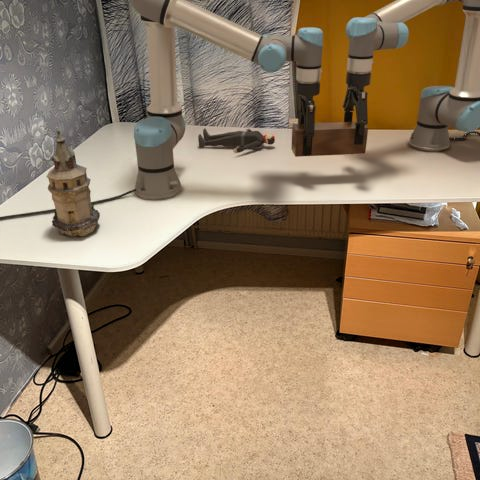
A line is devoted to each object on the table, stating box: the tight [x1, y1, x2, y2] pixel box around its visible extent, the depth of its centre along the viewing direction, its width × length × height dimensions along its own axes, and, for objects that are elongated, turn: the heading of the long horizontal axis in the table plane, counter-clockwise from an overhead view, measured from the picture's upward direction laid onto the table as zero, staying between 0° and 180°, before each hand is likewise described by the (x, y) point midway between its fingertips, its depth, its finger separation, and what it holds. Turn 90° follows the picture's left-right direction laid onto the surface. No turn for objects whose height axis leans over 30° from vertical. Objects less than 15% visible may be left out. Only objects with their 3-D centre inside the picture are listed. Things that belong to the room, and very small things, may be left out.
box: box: [290, 121, 369, 158], centre depth 177 cm, size 24×7×9 cm, turn 95°
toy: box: [197, 128, 276, 154], centre depth 214 cm, size 26×6×30 cm
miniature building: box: [46, 129, 101, 237], centre depth 148 cm, size 13×14×30 cm
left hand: (304, 151), depth 178 cm, fingers closed on box, 7 cm apart
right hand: (352, 137), depth 177 cm, fingers open, 13 cm apart
